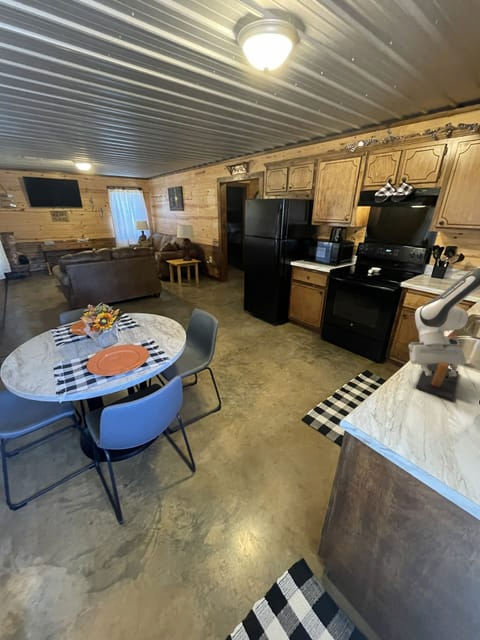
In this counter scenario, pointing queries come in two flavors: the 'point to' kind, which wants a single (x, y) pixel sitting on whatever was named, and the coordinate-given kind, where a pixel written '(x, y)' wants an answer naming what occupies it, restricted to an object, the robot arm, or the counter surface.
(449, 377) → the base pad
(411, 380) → the counter surface
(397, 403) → the counter surface
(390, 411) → the counter surface
